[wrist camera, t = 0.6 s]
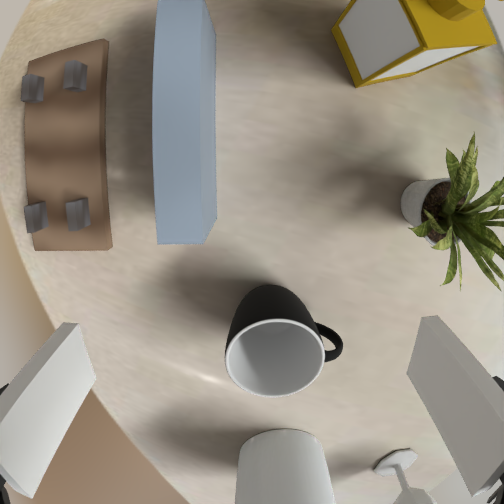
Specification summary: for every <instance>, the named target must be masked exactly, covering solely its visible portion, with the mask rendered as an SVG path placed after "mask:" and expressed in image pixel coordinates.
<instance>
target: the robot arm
mask: <svg viewBox="0 0 504 504" xmlns="http://www.w3.org/2000/svg"><path fill="white" fill-rule="evenodd" d="M407 375H408V377H409V378H410V380H411V382H412V383H413V385H414V387H415V389H416V390H417V392H418V394H419V396H420V398H421V399H422V401H423V403H424V405H425V406H426V408H427V410H428V412H429V414H430V416H431V417H432V419H433V421H434V423H435V425H436V427H437V428H438V430H439V432H440V434H441V436H442V438H443V440H444V442H445V444H446V446H447V448H448V449H449V451H450V453H451V455H452V457H453V459H454V461H455V463H456V465H457V467H458V469H459V471H460V473H461V475H462V477H463V480H464V482H465V484H466V486H467V488H468V490H469V492H470V494H471V497H474V496H476V495H478V494H480V493H482V492H484V491H486V490H489V489H490V488H491V487H492V486H493V485H494V484H495V483H496V482H497V480H498V479H499V478H500V480H501V482H502V485H501V486H500V487H499V488H498V489H497V490H496V491H495V492H494V493H493V494H492V496H490V497H489V499H488V501H487V503H490V502H491V501H492V500H493V499H494V498H495V497H496V496H497V497H496V501H495V502H494V503H493V504H504V381H503V380H502V379H500V378H499V377H497V376H495V377H491V375H490V374H489V373H488V372H487V371H486V369H485V368H484V367H483V366H482V365H481V364H480V362H479V361H478V360H477V359H476V358H475V357H474V355H473V354H472V353H471V352H470V351H469V350H468V348H467V347H466V346H465V345H464V344H463V343H462V342H461V341H460V339H459V338H458V337H457V336H456V335H455V334H454V333H453V332H452V331H451V329H450V328H449V327H448V326H447V325H446V324H445V323H444V322H443V321H442V320H441V319H440V318H439V317H438V315H437V316H429V317H421V322H420V326H419V330H418V334H417V338H416V342H415V346H414V350H413V353H412V357H411V360H410V364H409V367H408V371H407ZM95 380H96V375H95V372H94V370H93V367H92V364H91V361H90V358H89V355H88V352H87V349H86V346H85V343H84V340H83V337H82V333H81V330H80V327H79V324H77V323H65V322H63V323H62V325H61V326H60V327H59V328H58V329H57V330H56V331H55V332H54V333H53V334H52V335H51V337H50V338H49V339H48V340H47V341H46V342H45V343H44V344H43V345H42V347H41V348H40V349H39V350H38V351H37V352H36V353H35V355H34V356H33V357H32V358H31V359H30V360H29V362H28V363H27V364H26V365H25V366H24V368H23V369H22V370H21V371H20V372H19V373H18V375H17V376H16V377H15V378H14V379H13V380H12V382H11V383H10V384H7V385H5V386H4V387H2V388H1V389H0V504H10V500H9V496H8V493H7V490H6V489H5V487H4V484H5V482H6V481H7V483H8V484H9V485H10V486H11V487H12V488H13V489H14V490H15V491H17V492H19V493H21V494H23V495H25V496H28V497H29V498H33V496H34V494H35V492H36V490H37V488H38V486H39V484H40V481H41V479H42V477H43V475H44V473H45V471H46V469H47V467H48V465H49V463H50V462H51V459H52V458H53V456H54V454H55V452H56V450H57V448H58V446H59V444H60V442H61V440H62V439H63V437H64V435H65V433H66V431H67V429H68V427H69V426H70V424H71V422H72V420H73V418H74V416H75V415H76V413H77V411H78V409H79V408H80V406H81V404H82V402H83V401H84V399H85V397H86V395H87V393H88V392H89V390H90V388H91V387H92V385H93V383H94V382H95Z"/></svg>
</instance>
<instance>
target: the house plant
mask: <svg viewBox="0 0 504 504" xmlns="http://www.w3.org/2000/svg"><path fill="white" fill-rule="evenodd" d="M474 147H475V133H474V135H473V137H472V138H471V140H470V143H469V146H468V149H467V152H466V153H465V151H464V150H463V152H464V153H463V156H462V159H461V162H460V164H459V161H458V159H457V158H456V157H455V155H454V154H453V153H452V152H450V151H449V150H448V149H447V148H446V149H447V153H446V163H447V168H448V172H449V176H450V178H442V179H433V180H424V181H416V182H413V183H411V184H410V185H409V186H407V188H406V189H405V190H404V192H403V194H402V197H401V210H402V214H403V216H404V217H405V219H406V220H407V221H408V222H409V223H410V224H411V225H412V226H413V227H414V228H409V229H411V230H412V231H413V232H414V233H415V234H416V235H417V236H419V237H424V238H425V239H426V240H427V241H428V242H429V243H430V244H432V245H433V247H432V248H434V249H438V250H446V249H448V248H449V247H450V248H451V255H450V262H449V266H448V271H447V275H446V279H445V281H444V283H443V284H442V285H445V284H447V283H450V282H451V281H452V280H453V278H454V276H455V274H456V270H457V251H456V246H455V244H457V249H458V264H459V273H460V290H461V280H462V269H461V256H460V249H459V244H458V243H459V242H460V241H461V240H462V242H463V243H464V245H465V246H466V248H467V249H468V250H469V252H470V253H471V254H472V256H473V257H474V258H475V260H476V262H477V263H478V265H479V267H480V268H481V270H482V271H483V273H484V274H485V275H486V276H487V277H488V278H489V279H490V281H491V282H492V283H493V284H494V285H495V286H496V287H497V288H498V289H499V290H500V291H501V289H500V287H499V284H498V283H497V281H496V280H495V278H494V275H493V274H492V272H491V270H490V269H489V268H488V266H487V265H486V264H485V262H484V261H483V259H482V258H481V256H482V257H483V258H484V260H485V261H486V262H487V264H488V265H489V267H490V268H491V269H492V270H493V271H494V272H495V273H496V274H497V275H498V276H499V277H500V278H501V279H502V280H503V281H504V275H503V273H502V271H501V270H500V269H499V267H498V266H497V265H496V264H495V263H494V262H493V261H492V258H493V256H494V254H495V253H496V254H498V255H499V256H500V257H501V258H502V259H503V260H504V246H503V245H502V243H501V242H500V240H499V239H498V237H497V236H496V234H495V233H494V232H493V231H492V230H491V229H489V228H487V227H486V226H501V227H504V221H487V220H493V219H500V218H504V209H503V210H499V211H498V209H499V207H497V208H496V209H494V210H492V211H490V212H482V213H478V212H480V211H482V210H484V209H486V208H487V207H489V206H497V205H499V206H500V205H504V197H501V196H502V195H503V194H504V177H503V179H502V180H501V181H496V182H495V184H494V185H493V187H492V188H491V190H490V191H489V192H487V193H486V194H484V195H483V196H481V197H480V198H478V199H477V200H475V201H473V202H472V198H473V197H474V195H475V194H476V192H477V189H478V187H479V180H478V172H477V169H476V167H475V165H476V160H477V155H478V149H477V148H476V151H475V154H474ZM473 155H474V157H473ZM472 159H473V160H472ZM469 189H470V191H469ZM407 228H408V227H407ZM440 286H441V285H440Z"/></svg>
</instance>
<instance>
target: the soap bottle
mask: <svg viewBox="0 0 504 504" xmlns="http://www.w3.org/2000/svg"><path fill="white" fill-rule="evenodd" d="M499 1H503V0H499ZM484 5H485V0H351V1H350V3H349V4H348V6H347V7H346V9H345V10H344V11H343V13H342V14H341V16H340V17H339V19H338V20H337V22H336V23H335V25H334V26H333V28H332V29H331V31H332V33H333V36H334V38H335V40H336V42H337V44H338V47H339V49H340V51H341V53H342V56H343V58H344V60H345V63H346V65H347V67H348V70H349V72H350V75H351V77H352V80H353V82H354V85H355V87H356V88H358V87H362V86H367V85H371V84H375V83H380V82H385V81H389V80H394V79H399V78H404V77H410V76H412V75H415V74H417V73H419V72H422V71H424V70H427V69H429V68H432V67H434V66H437V65H439V64H442V63H444V62H447V61H449V60H452V59H455V58H457V57H460V56H463V55H466V54H468V53H471V52H474V51H477V50H480V49H482V48H485V47H488V46H491V45H492V44H497V42H496V39H495V37H494V35H493V32H492V30H491V28H490V26H489V23H488V21H487V19H486V17H485V15H484V13H483V11H482V9H483V7H484Z"/></svg>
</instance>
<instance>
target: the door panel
mask: <svg viewBox="0 0 504 504" xmlns="http://www.w3.org/2000/svg"><path fill="white" fill-rule="evenodd" d="M215 81H216V33H215V30H214V27H213V24H212V21H211V18H210V15H209V12H208V9H207V6H206V3H205V0H158V4H157V15H156V28H155V43H154V63H153V95H152V144H153V178H154V198H155V215H156V229H157V242H158V244H203V243H204V242H205V240H206V238H207V236H208V234H209V232H210V230H211V229H212V227H213V225H214V223H215V221H216V219H217V198H216V133H215Z"/></svg>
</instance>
